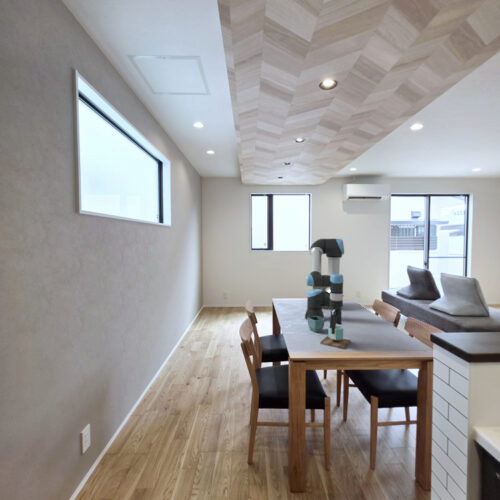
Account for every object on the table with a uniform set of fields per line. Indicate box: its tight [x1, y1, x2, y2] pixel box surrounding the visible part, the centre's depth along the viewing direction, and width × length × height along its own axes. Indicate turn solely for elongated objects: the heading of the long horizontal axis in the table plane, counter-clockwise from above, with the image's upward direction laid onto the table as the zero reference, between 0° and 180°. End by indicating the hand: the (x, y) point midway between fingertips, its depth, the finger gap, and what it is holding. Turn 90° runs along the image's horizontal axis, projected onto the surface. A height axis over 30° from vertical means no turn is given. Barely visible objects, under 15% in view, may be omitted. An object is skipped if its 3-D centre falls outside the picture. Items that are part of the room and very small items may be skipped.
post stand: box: [320, 327, 351, 350], centre depth 164 cm, size 14×14×9 cm
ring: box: [327, 325, 344, 340], centre depth 164 cm, size 8×8×6 cm
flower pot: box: [306, 316, 326, 333], centre depth 186 cm, size 9×9×9 cm
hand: (335, 336), depth 164 cm, fingers closed on ring, 8 cm apart
